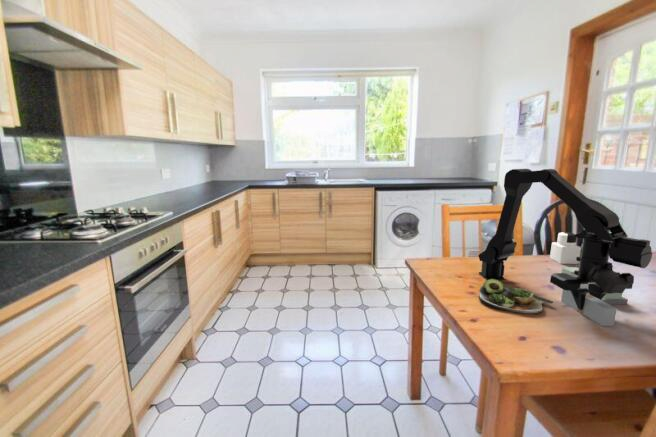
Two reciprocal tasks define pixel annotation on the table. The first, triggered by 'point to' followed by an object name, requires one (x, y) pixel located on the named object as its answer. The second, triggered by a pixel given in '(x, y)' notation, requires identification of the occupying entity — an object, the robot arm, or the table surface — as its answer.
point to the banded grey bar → (592, 308)
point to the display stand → (608, 298)
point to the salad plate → (510, 297)
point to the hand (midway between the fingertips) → (585, 309)
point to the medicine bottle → (565, 249)
